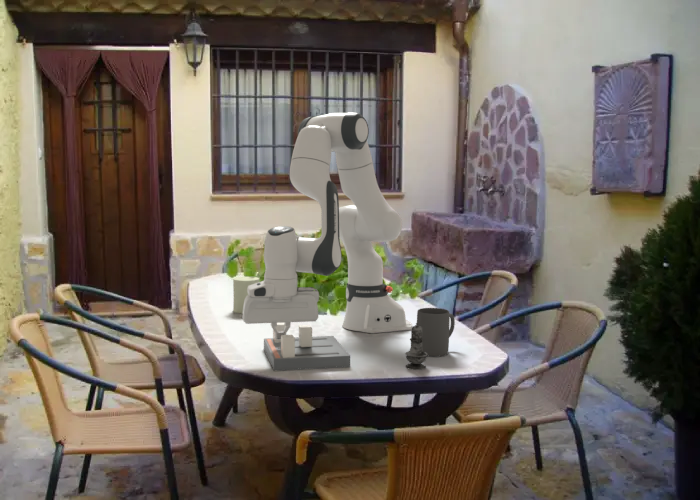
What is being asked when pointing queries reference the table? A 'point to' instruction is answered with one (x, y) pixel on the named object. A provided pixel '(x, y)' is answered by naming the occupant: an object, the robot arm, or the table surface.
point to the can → (241, 291)
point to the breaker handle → (305, 336)
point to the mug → (435, 330)
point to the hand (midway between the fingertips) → (280, 338)
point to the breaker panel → (305, 352)
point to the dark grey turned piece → (416, 349)
